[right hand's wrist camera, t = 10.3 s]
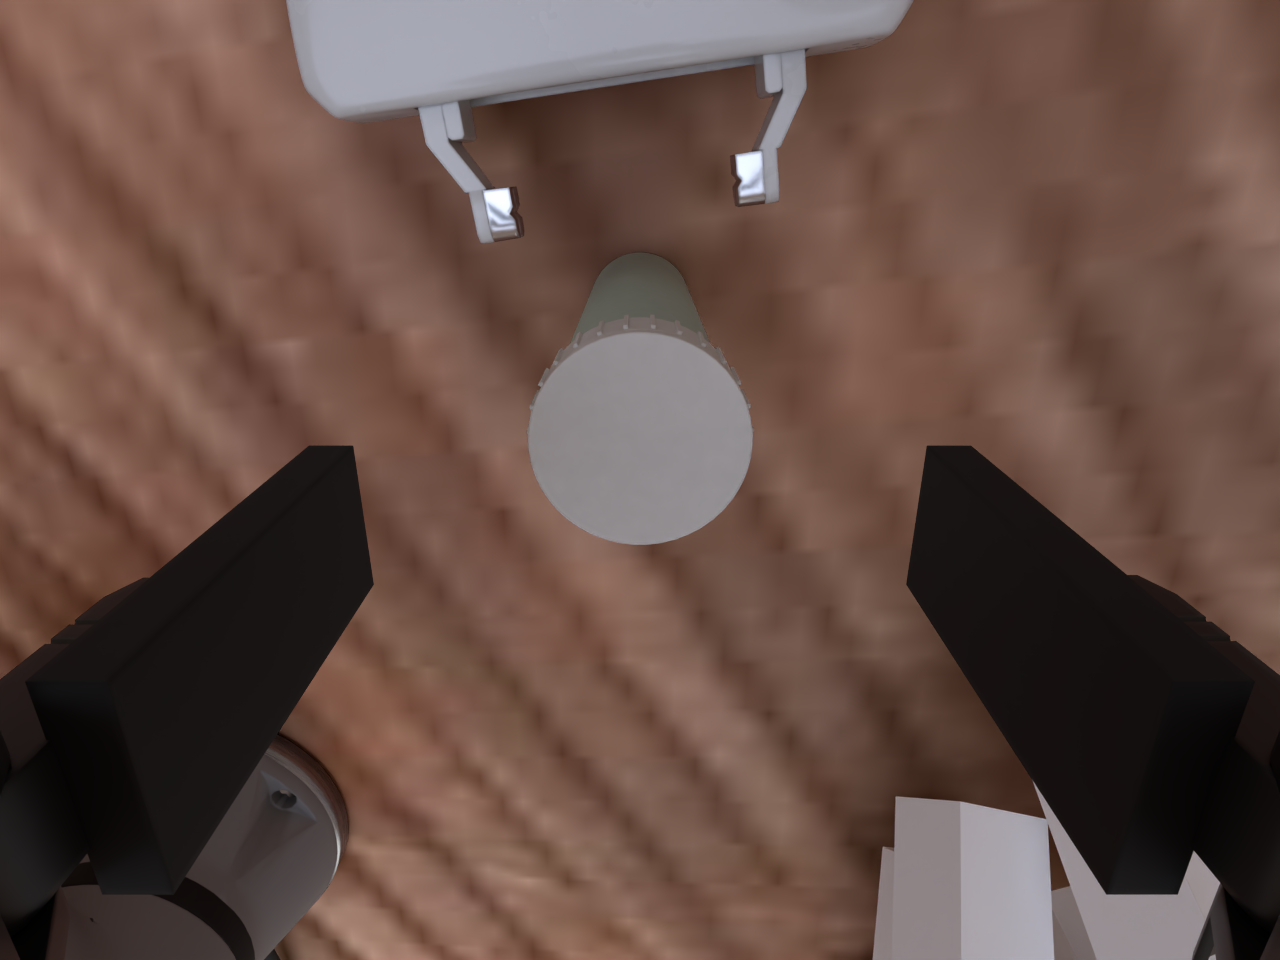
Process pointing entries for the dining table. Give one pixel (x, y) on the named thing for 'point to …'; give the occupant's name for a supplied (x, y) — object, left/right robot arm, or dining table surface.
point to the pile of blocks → (1017, 894)
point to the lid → (640, 431)
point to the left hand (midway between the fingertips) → (628, 222)
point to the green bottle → (640, 294)
